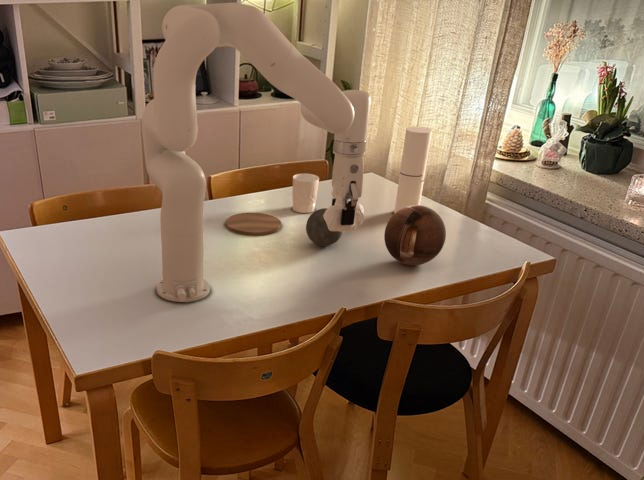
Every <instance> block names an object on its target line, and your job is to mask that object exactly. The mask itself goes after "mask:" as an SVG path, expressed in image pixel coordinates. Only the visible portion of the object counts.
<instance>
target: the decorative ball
mask: <svg viewBox="0 0 644 480" xmlns="http://www.w3.org/2000/svg"><path fill="white" fill-rule="evenodd" d="M328 208H329V207H327V208H326V207H325V208H319V209H317V210H314V211H313V212H311V214H310V215H309V217H308V218H307V220H306V224H305V232H306V235H307V237H308V239H309V240H310V241H311V242H312V243H313V244H314V245H317V246H320V247H328V246H332V245H334V244H335V243H337V242H338V241H339V240H340V239H341V237H342V236H343V233H344V232H339V231H330V230H329V229H328V226H327V223H326V221H325V220H324V217H323V215H324V213H325V211H326V210H327V209H328Z"/></svg>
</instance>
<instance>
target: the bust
mask: <svg viewBox="0 0 644 480" xmlns="http://www.w3.org/2000/svg"><path fill="white" fill-rule="evenodd" d="M331 196H332V197H331V200H332V199H335V198H336V202H335V205H333V206H332V205H330V206H329V207H327V208H328V209H327V210H326V211H325V213H324V215H323V217H324V220H325V221H326V223H327V226H328V229H329V230H330V231H339V232H343V233H344V232H346V231H351V230H355V229H356V228H357V227H359V226H361V225H362V224H363V221H364V220H365V210H364V206H363V205H362V204H361V203H358V202H357V205H356V210H355V216H354V224H353V225H341V224H340V223H341V213H342V209H344V208H343V198H342V197H341V196H340V195H339V194H338V193H337V191H336V190H335V188H333V187H332V191H331ZM346 196H351V194H346ZM349 201H350V199H347V203H348V202H349Z"/></svg>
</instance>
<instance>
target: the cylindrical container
mask: <svg viewBox="0 0 644 480" xmlns="http://www.w3.org/2000/svg"><path fill="white" fill-rule="evenodd" d="M405 129H406V130H405V135H404V143H403V149H402V155H401V162H400V164H401V165H400V169H399V170H400V171H399V177H398V183H397V190H396V198H395V205H394V211H393V215H394V214H395V213H396V212H397V211H399V210H401V209H402V208H405V207H408V206H412V205H421V200H422V194H423V189H424V183H425V177H426V169H427V164H428V158H429V151H430V145H431V140H432V139H431V138H432V134H433V130H432V129H431V128H429V127H424V126H407V127H406V128H405Z"/></svg>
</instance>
